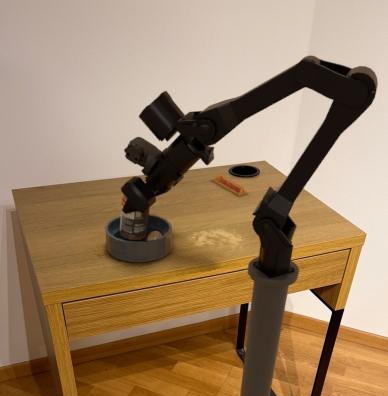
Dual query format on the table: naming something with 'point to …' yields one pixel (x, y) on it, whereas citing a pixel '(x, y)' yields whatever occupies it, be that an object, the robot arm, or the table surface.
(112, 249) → the bowl
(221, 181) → the chocolate bar
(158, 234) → the bead
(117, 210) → the table surface
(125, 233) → the supplement bottle
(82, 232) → the table surface
